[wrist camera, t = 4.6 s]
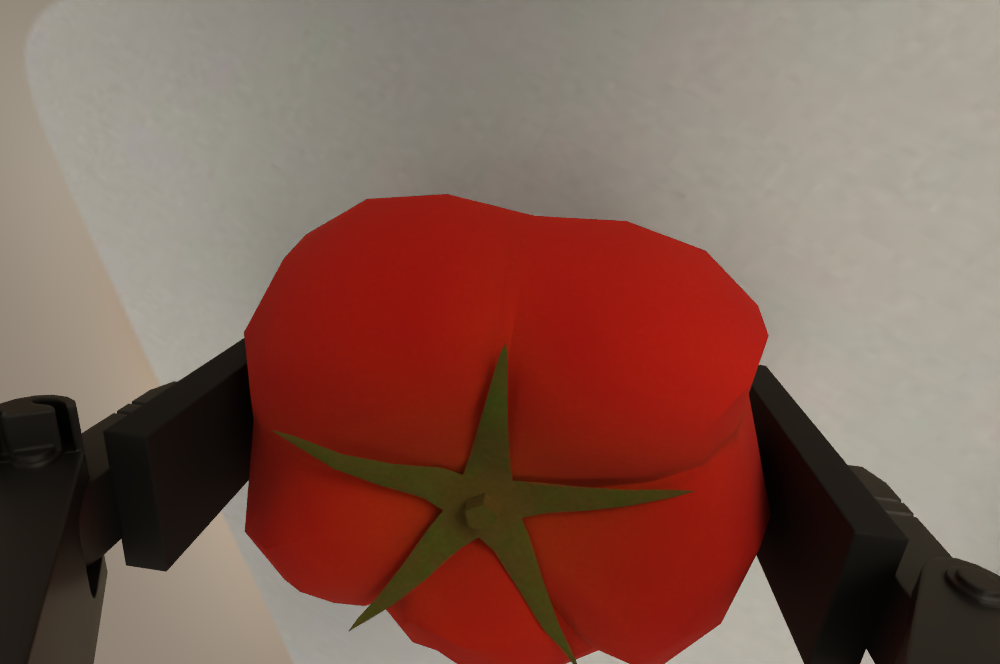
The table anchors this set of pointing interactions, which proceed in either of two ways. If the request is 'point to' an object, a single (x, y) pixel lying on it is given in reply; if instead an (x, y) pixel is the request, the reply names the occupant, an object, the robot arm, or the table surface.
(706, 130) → the table surface
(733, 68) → the table surface
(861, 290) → the table surface
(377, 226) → the tomato
